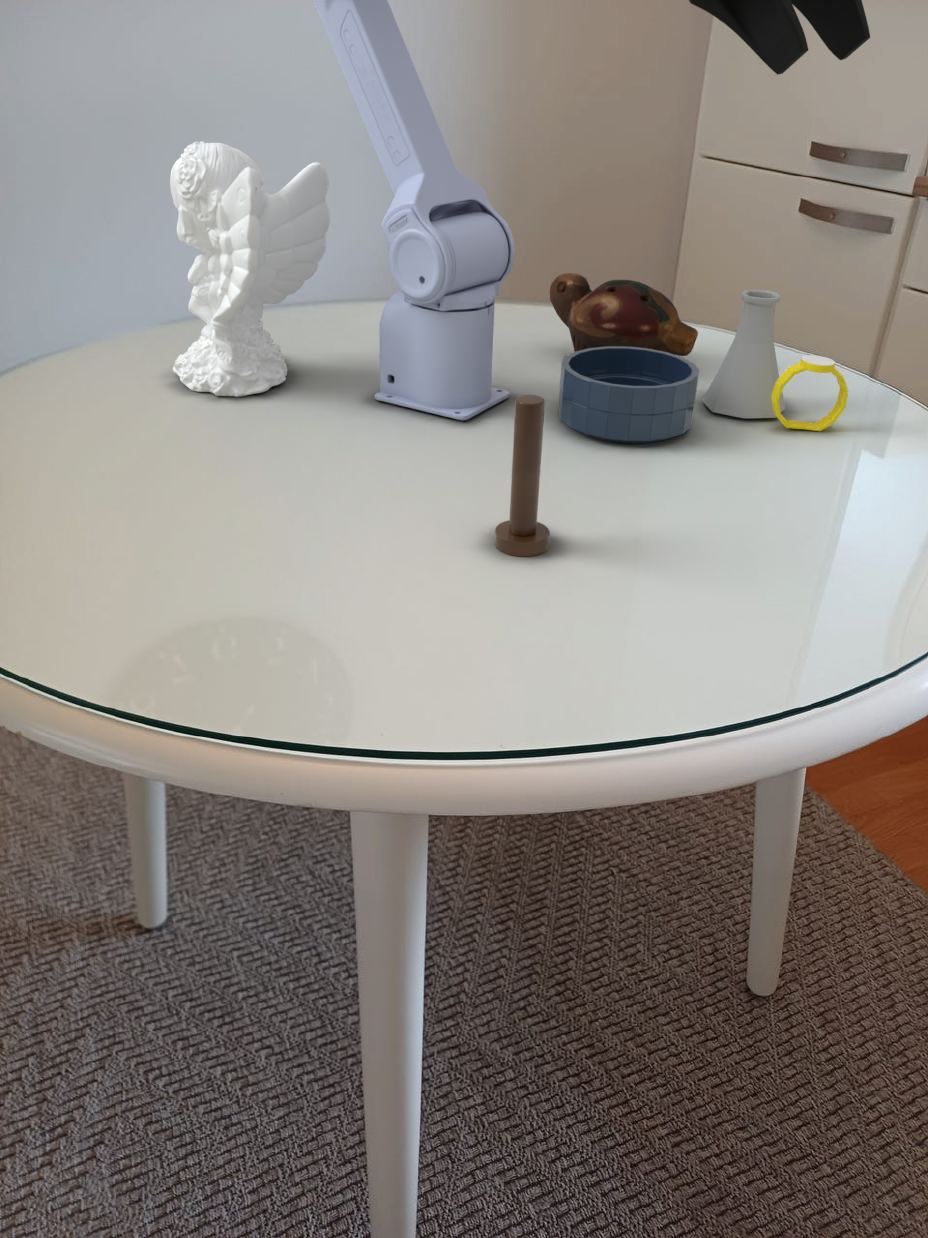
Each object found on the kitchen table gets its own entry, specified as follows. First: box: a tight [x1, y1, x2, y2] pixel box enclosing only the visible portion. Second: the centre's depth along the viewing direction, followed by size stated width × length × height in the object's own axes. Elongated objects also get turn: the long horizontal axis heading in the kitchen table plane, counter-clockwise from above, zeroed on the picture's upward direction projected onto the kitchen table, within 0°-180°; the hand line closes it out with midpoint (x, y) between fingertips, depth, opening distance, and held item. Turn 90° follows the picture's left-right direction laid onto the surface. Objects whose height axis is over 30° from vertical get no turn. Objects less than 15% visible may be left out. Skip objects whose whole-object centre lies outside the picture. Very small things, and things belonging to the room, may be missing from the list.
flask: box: [701, 289, 786, 419], centre depth 94 cm, size 7×7×10 cm
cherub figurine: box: [169, 140, 331, 398], centre depth 96 cm, size 13×12×20 cm
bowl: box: [557, 346, 700, 444], centre depth 91 cm, size 11×11×5 cm
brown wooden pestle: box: [494, 394, 551, 557], centre depth 70 cm, size 4×4×10 cm
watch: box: [771, 354, 849, 432], centre depth 91 cm, size 6×3×6 cm, turn 89°
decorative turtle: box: [549, 272, 699, 357], centre depth 106 cm, size 10×15×8 cm, turn 70°
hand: (825, 55), depth 66 cm, fingers open, 7 cm apart
